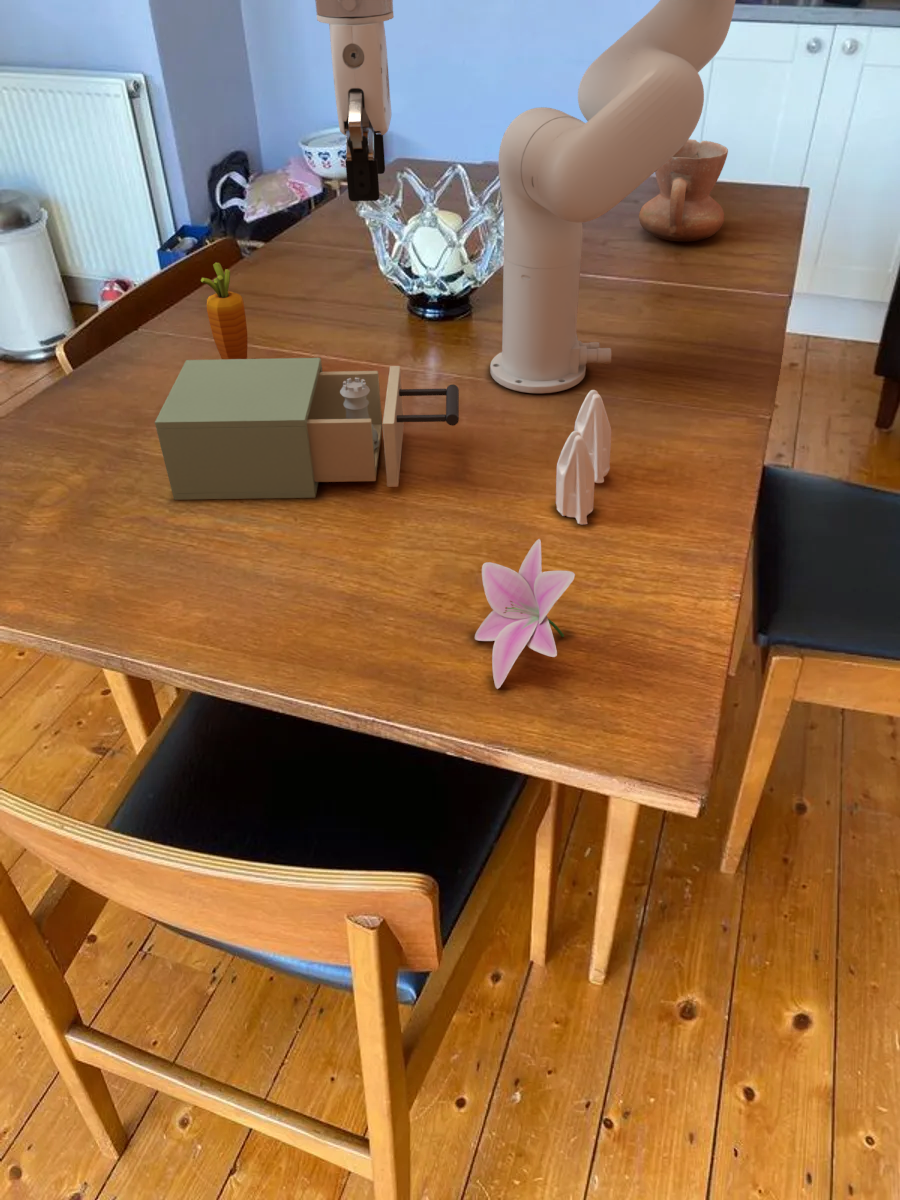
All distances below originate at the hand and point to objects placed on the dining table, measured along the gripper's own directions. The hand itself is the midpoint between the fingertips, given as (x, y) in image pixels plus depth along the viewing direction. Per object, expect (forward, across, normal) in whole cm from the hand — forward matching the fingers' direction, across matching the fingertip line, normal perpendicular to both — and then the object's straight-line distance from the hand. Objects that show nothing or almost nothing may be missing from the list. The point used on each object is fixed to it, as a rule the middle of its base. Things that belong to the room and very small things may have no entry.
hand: (367, 186), depth 102 cm
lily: (+26, -46, -15) cm, 55 cm away
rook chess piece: (+24, -14, +2) cm, 28 cm away
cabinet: (+26, -14, +14) cm, 33 cm away
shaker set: (+26, -21, -23) cm, 41 cm away
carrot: (+26, +8, +20) cm, 34 cm away
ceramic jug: (+26, +60, -48) cm, 81 cm away
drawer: (+25, -14, +1) cm, 29 cm away
